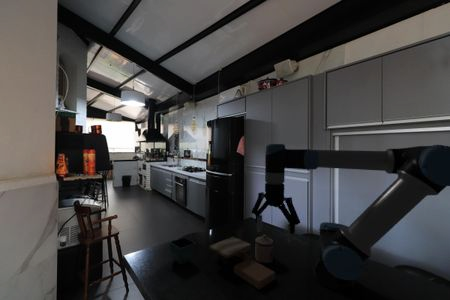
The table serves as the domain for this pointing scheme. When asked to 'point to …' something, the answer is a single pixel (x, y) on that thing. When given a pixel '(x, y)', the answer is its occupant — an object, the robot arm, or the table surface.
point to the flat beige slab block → (231, 249)
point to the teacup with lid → (264, 249)
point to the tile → (254, 273)
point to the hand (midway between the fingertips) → (273, 236)
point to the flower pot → (182, 250)
